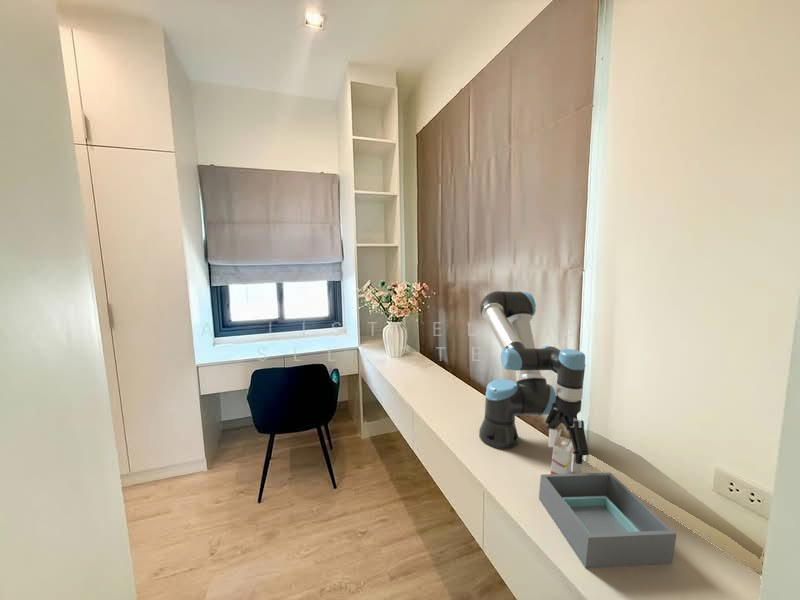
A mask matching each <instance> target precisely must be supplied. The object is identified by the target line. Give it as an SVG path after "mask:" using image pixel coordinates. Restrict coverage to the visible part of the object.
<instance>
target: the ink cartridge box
mask: <svg viewBox="0 0 800 600" xmlns="http://www.w3.org/2000/svg"><path fill="white" fill-rule="evenodd" d="M562 431H563V430H562V428H561V429H560V430H558V434H557V435H556V437H555V440H554V445H553V447H552V455H551V458H552V459H551V465H550V466H551V468H550V474H572V471H571V464H572V453H573V451H574V448H573V444H572V441H571V438H568V437H565V436H561V434H562Z"/></svg>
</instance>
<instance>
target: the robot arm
mask: <svg viewBox="0 0 800 600" xmlns="http://www.w3.org/2000/svg"><path fill="white" fill-rule="evenodd" d="M536 305H537V304H536V301H535V298H534V297H533V295H532V294H531V293H530V292H527V291H520V290H518V291H517V290H516V291H506V290H505V291H502V290H501V291H500V290H498V291H497V290H496V291H492V292H489V293H488V294H487V295H485V296H484V297H483V298H482V301H481V302H480V306H479V310H480V314H481V316H482V318H483V320H484V321H486V322H488V325H489V327H490V329H491V331H492V333H493V334H494V336H495V339H496V340H497V341H498V344H499V346H500V347H501V354H500V362H501V366H502V367H503V369H505V370H508V371H517V372H518V378H517V380H516V381H513V380H510V379H506V378H505V379H504V378H502V379H501V378H500V379H494V380H491V381H490V382H489V383H488V384H487V386H486V389H485V391H486V392H485V402H484V404H485V405H484V418H483V420H482V422H481V425H480V427H479V432H478V433H479V434H478V436H479V439H480V440H481V441H482V442H483V443H484V444H485V445H487V446H490V447H492V448H496V449H500V450H501V449H502V450H508V449H513V448H515V447H516V446H518V443H519V434H518V430H517V425H516V416H545V415H547V417H546V419H545V423H546V424H547V427H548V442H547V447H548V448H553V445H554V440H555V437H556V435H557V434H558V432H559V429H558V428H559V426H560V425H561V424H563V426H565V428H566V431H568V434H569V437H570V438H569V439H571V441H572V444H573V448H574V451H573V453H572V464H571V473H582V471H581V470H582V463H583V457H584V456H589V448H588V443H587V438H586V432H585V422H584V421H583V420H581V419H580V420H579V419H578V414H579V413H580V412H581V411H582V402H583V401H582V399H583V390H584V379H585V371H586V355H585V354H584V352H583V351H581V350H577V349H571V348H564V349H563V348H562V349H559V348H557V347H555V346H551V345H545V346H543V347H541V348H536V345H535V340H534V336H533V335H534V334H533V330H532V326H531V325H532V324H531V321H532V319H534V318H533V316H534V315H535V314H536V312H537V311H536V307H537V306H536ZM541 371H552V372H554V373H555V374H557V378H556V388H554V387H553V385H551V384H548V383H547V379H546V377H544V376H542V374H541Z"/></svg>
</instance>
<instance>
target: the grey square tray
mask: <svg viewBox="0 0 800 600" xmlns="http://www.w3.org/2000/svg"><path fill="white" fill-rule="evenodd" d="M539 482H540V483H539V490H538V491H539V494H538V500H539V502H540V503H541V504H542V505H543V507H544V509H545V510H546V512H547V513H548V515H549V516H550V517H551V519H552V521H553V520H554V521H553V522H554V524H555V523H556V524H555V525H556V527H557V526H558V527H557V528H558V529H560V530H559V531H560V532H561V534H562V536H563V537H564V538H566V539H565V540H566V541H567V543H568V544H569V546H570V547H571V549H572V551H574V554H575V555H576V556H577V558H578V559H579V561H580V562H581V564H582V565H583V567H584V568H586V569H590V568H608V567H609V568H610V567H631V566H646V565H647V566H649V565H664V564H665V565H668V564H669V565H670V564H673V561H674V560H673V559H674V553H675V547H676V540H677V532H676V531H674V529H672V528H671V527H670V526H669V525H668V524H667V523H666V522H664V521H663V519H661V518H660V517H659V515H657V514H656V513H655V512H654V511H653V510H651V508H649V507H648V506H647V505H646V504H645V503H644V502H643V501H642V500H641V499H639V498H638V496H636V495H635V494H634V493H633V492H632V491H631V490H630V489H629V488H628V487H627V486H626V485H624V484H623V483H622V482H621V481H620V480H619V479H618V478H617V477H616V476H615V475H614V474H613V473H612V472H584V473H583V472H576V473H571V474H551V473H550V474H547V473H546V474H540V480H539Z"/></svg>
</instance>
